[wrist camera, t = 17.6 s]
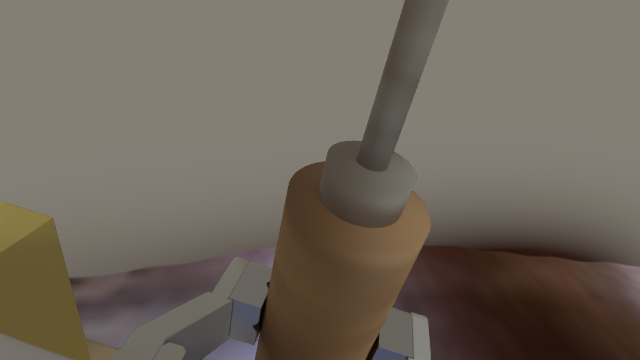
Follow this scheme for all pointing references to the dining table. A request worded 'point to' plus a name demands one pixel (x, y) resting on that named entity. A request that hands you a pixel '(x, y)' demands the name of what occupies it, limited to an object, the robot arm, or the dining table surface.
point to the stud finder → (37, 285)
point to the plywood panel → (100, 351)
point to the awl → (352, 222)
